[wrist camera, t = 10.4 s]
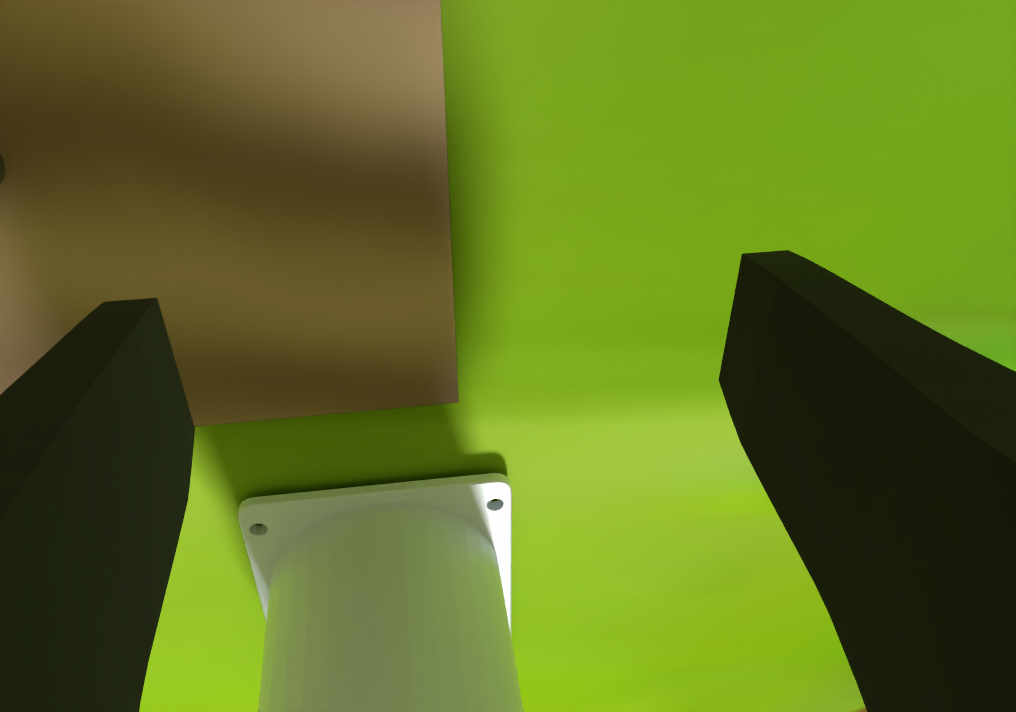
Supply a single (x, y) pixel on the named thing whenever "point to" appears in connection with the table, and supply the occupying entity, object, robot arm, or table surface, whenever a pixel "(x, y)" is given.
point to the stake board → (234, 194)
